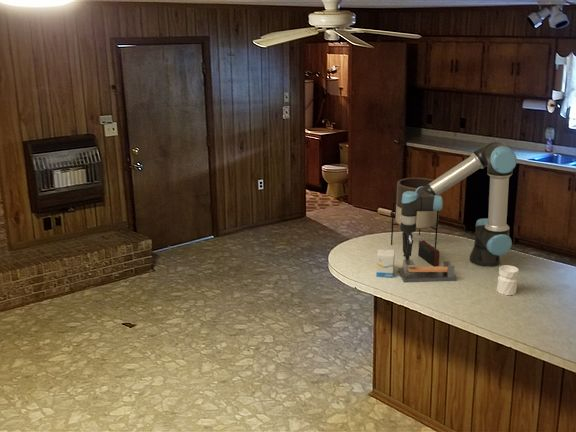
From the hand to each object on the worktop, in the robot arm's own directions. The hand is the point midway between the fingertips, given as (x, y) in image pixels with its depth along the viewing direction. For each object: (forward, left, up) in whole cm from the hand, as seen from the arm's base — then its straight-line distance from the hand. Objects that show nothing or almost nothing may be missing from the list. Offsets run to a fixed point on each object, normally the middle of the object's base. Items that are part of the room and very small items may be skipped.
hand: (406, 267), depth 322 cm
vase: (-42, +25, -4) cm, 49 cm away
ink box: (+10, 0, -4) cm, 11 cm away
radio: (-16, -14, -4) cm, 22 cm away
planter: (-17, -41, -4) cm, 45 cm away
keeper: (0, +6, -1) cm, 6 cm away
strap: (-10, +7, +1) cm, 12 cm away
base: (-10, +4, -3) cm, 11 cm away
